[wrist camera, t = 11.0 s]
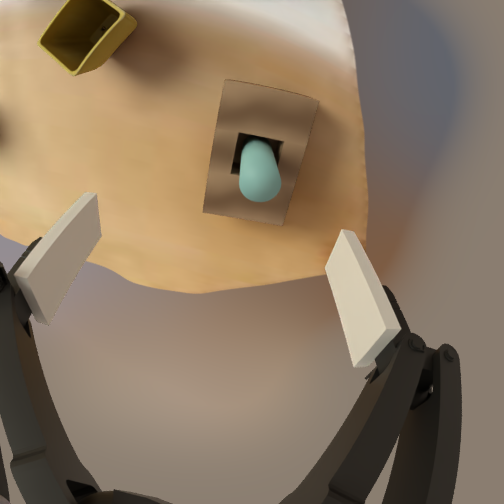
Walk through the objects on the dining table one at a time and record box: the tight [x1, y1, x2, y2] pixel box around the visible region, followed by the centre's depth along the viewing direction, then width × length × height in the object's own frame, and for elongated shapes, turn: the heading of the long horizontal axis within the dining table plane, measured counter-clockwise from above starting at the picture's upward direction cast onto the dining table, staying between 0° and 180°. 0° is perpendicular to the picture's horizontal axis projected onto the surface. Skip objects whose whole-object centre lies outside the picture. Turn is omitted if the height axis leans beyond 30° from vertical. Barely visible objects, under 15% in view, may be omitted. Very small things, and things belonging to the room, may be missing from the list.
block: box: [203, 80, 319, 226], centre depth 32 cm, size 16×10×6 cm, turn 168°
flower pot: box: [37, 0, 137, 76], centre depth 19 cm, size 9×9×9 cm
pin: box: [239, 135, 281, 202], centre depth 28 cm, size 4×4×12 cm
